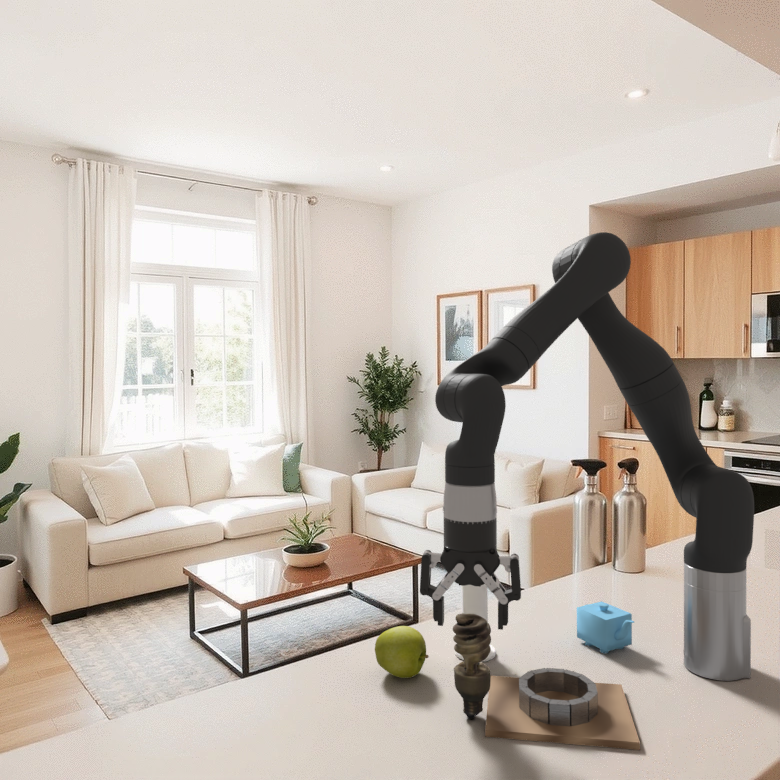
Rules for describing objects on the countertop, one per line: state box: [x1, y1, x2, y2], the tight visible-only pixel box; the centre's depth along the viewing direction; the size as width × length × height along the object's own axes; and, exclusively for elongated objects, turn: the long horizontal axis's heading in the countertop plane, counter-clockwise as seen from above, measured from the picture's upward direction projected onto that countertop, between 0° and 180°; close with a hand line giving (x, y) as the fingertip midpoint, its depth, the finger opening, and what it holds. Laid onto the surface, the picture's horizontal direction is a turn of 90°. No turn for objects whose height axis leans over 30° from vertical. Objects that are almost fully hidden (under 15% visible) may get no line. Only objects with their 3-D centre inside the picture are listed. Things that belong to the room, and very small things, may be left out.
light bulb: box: [452, 612, 492, 720], centre depth 97 cm, size 6×6×15 cm
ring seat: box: [519, 667, 598, 727], centre depth 97 cm, size 11×11×3 cm
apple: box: [374, 625, 430, 679], centre depth 110 cm, size 8×9×8 cm
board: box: [484, 675, 641, 751], centre depth 98 cm, size 20×16×1 cm
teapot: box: [576, 600, 635, 654], centre depth 119 cm, size 12×6×8 cm, turn 28°
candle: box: [454, 584, 496, 663], centre depth 117 cm, size 7×7×25 cm
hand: (470, 625), depth 97 cm, fingers open, 8 cm apart
